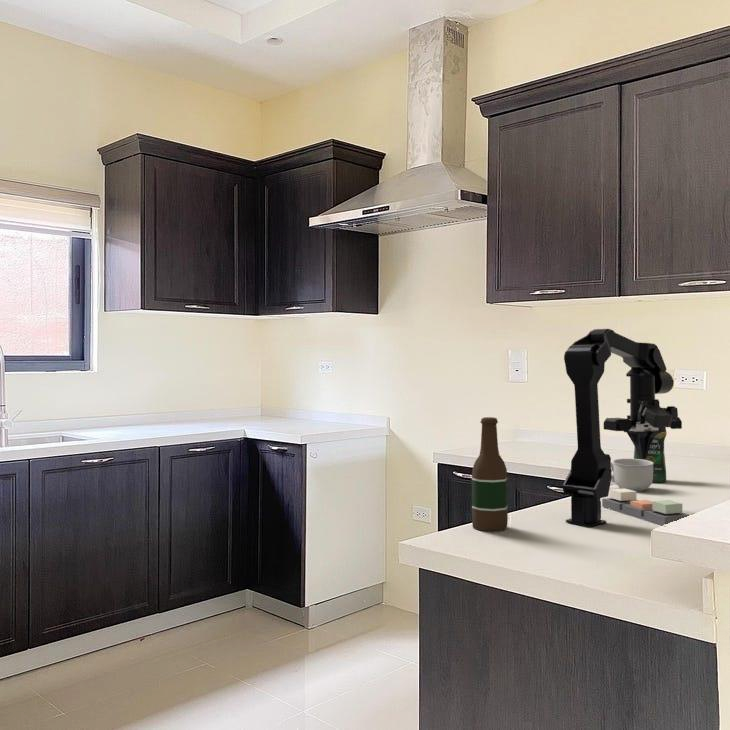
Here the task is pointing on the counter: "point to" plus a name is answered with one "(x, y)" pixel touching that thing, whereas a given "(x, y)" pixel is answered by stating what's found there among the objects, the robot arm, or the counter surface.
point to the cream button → (623, 494)
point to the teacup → (632, 473)
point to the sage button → (667, 506)
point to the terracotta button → (641, 504)
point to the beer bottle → (489, 483)
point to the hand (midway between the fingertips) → (643, 458)
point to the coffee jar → (656, 456)
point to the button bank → (642, 512)
